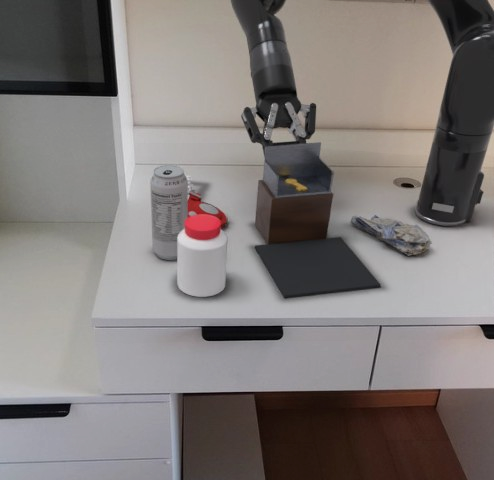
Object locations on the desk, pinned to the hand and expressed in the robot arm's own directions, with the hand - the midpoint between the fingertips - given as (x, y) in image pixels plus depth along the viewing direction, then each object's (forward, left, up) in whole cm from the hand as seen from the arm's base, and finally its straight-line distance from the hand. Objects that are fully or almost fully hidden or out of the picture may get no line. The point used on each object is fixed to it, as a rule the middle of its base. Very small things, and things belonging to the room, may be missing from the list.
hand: (287, 161), depth 110 cm
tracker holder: (+15, -1, -12) cm, 19 cm away
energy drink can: (+21, +12, -12) cm, 27 cm away
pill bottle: (+16, +22, -12) cm, 30 cm away
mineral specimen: (-19, +7, -12) cm, 23 cm away
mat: (-3, +17, -12) cm, 21 cm away
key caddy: (0, +3, -3) cm, 4 cm away
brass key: (-1, +5, -2) cm, 6 cm away
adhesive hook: (+18, -12, -12) cm, 25 cm away
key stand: (-1, +5, -12) cm, 13 cm away
